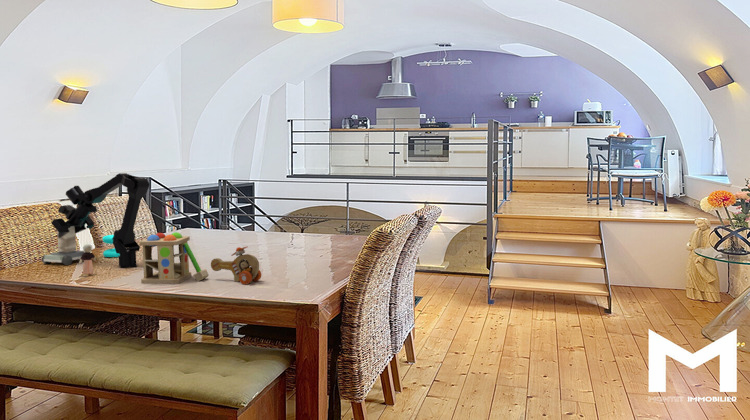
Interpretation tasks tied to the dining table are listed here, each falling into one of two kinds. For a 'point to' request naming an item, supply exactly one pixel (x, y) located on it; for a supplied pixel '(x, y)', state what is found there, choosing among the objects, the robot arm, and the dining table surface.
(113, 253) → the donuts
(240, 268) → the toy helicopter
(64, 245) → the beige stone block
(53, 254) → the chassis
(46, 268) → the dining table surface
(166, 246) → the pounding bench toy
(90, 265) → the grandmother figurine
